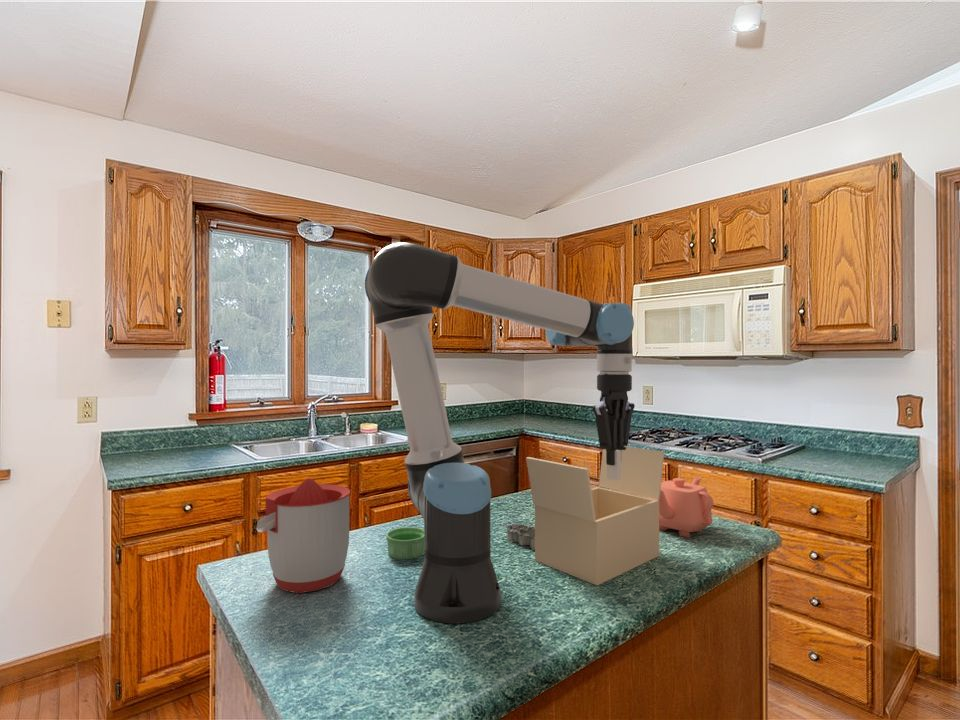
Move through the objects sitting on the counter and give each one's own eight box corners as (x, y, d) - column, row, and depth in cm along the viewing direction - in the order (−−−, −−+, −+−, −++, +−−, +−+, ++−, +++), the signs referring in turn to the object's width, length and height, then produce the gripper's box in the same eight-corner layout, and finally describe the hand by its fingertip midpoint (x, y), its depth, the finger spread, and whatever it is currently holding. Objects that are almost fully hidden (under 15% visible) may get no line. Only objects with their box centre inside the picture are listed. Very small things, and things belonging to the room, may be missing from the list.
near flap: (595, 520, 97) (593, 522, 97) (535, 503, 109) (533, 504, 108) (588, 468, 96) (586, 469, 95) (527, 456, 107) (525, 457, 107)
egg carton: (557, 544, 120) (557, 526, 120) (536, 552, 114) (536, 534, 114) (522, 532, 127) (522, 516, 127) (501, 540, 122) (501, 523, 122)
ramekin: (425, 560, 110) (424, 540, 110) (382, 561, 109) (382, 540, 109) (428, 545, 119) (428, 526, 119) (389, 545, 118) (389, 526, 118)
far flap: (663, 451, 113) (664, 451, 113) (603, 442, 125) (605, 443, 125) (658, 499, 111) (659, 499, 112) (598, 486, 123) (600, 486, 124)
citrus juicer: (245, 581, 99) (244, 478, 99) (331, 558, 111) (330, 466, 111) (272, 611, 87) (271, 494, 87) (365, 582, 99) (364, 478, 99)
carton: (597, 585, 97) (596, 521, 97) (535, 560, 109) (534, 504, 109) (659, 556, 111) (658, 500, 111) (598, 536, 123) (597, 486, 123)
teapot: (654, 539, 122) (654, 485, 122) (642, 517, 138) (642, 470, 138) (721, 542, 120) (721, 487, 120) (700, 520, 136) (700, 472, 136)
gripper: (611, 373, 107) (610, 486, 107) (645, 373, 116) (644, 477, 116) (582, 373, 113) (581, 480, 113) (616, 372, 121) (616, 472, 121)
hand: (613, 479), depth 114 cm, fingers closed
